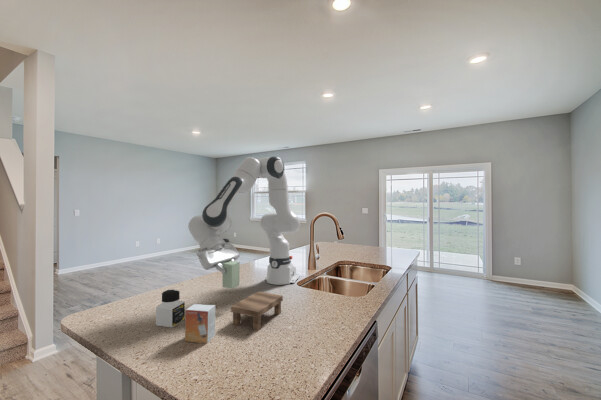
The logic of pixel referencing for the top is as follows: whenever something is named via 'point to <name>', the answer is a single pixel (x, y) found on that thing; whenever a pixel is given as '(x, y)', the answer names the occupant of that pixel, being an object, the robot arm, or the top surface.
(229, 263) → the green block
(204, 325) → the small box
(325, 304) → the top surface
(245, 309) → the stool
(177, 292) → the medicine bottle
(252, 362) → the top surface
